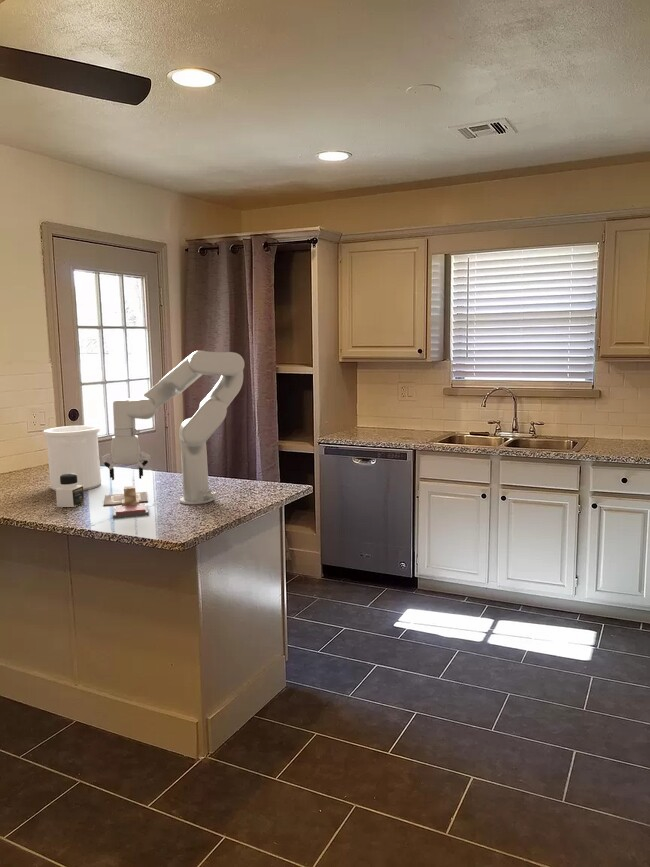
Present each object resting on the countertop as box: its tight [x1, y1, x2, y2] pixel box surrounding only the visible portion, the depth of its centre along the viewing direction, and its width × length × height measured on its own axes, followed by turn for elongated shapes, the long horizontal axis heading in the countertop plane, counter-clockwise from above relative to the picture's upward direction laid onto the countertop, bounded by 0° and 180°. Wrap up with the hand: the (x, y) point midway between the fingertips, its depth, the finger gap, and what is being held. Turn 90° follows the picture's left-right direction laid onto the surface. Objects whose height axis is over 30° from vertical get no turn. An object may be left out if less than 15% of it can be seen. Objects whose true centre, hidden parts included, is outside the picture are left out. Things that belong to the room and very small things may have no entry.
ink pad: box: [112, 503, 150, 519], centre depth 242 cm, size 12×10×2 cm
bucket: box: [42, 424, 102, 492], centre depth 287 cm, size 26×22×25 cm
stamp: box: [121, 485, 140, 506], centre depth 251 cm, size 6×6×8 cm
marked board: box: [103, 491, 149, 507], centre depth 264 cm, size 16×16×1 cm
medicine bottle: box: [55, 474, 85, 508], centre depth 256 cm, size 7×7×12 cm
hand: (126, 478), depth 250 cm, fingers open, 9 cm apart
